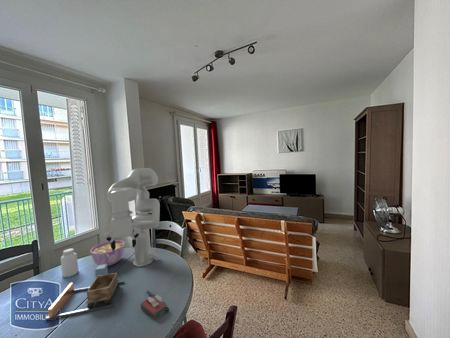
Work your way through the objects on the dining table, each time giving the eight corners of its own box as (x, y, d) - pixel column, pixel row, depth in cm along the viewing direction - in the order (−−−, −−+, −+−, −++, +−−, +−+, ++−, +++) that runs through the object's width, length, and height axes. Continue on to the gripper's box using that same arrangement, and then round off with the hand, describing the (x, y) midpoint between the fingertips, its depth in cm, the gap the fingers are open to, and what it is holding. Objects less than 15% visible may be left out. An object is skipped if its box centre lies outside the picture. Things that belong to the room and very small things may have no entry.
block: (108, 277, 118) (106, 264, 117) (105, 281, 113) (104, 268, 113) (99, 278, 117) (98, 265, 116) (96, 283, 112) (95, 269, 112)
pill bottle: (81, 270, 127) (79, 247, 126) (70, 277, 119) (68, 253, 118) (70, 270, 128) (68, 247, 127) (58, 277, 120) (56, 253, 119)
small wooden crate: (119, 285, 109) (118, 271, 109) (110, 304, 95) (109, 288, 94) (98, 288, 107) (97, 275, 106) (86, 309, 92) (85, 293, 92)
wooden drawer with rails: (124, 282, 112) (123, 273, 111) (114, 306, 93) (113, 296, 93) (68, 292, 105) (67, 283, 105) (45, 321, 87) (44, 310, 87)
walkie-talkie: (173, 309, 90) (149, 292, 102) (172, 300, 90) (148, 284, 102) (155, 323, 83) (132, 302, 96) (155, 313, 83) (131, 294, 95)
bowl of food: (116, 270, 124) (115, 252, 123) (84, 272, 124) (82, 254, 123) (131, 255, 144) (130, 239, 143) (103, 256, 144) (102, 240, 143)
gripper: (140, 210, 107) (143, 242, 108) (104, 214, 103) (107, 247, 104) (138, 214, 99) (141, 248, 100) (99, 218, 95) (102, 254, 96)
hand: (124, 247), depth 102 cm, fingers open, 8 cm apart
